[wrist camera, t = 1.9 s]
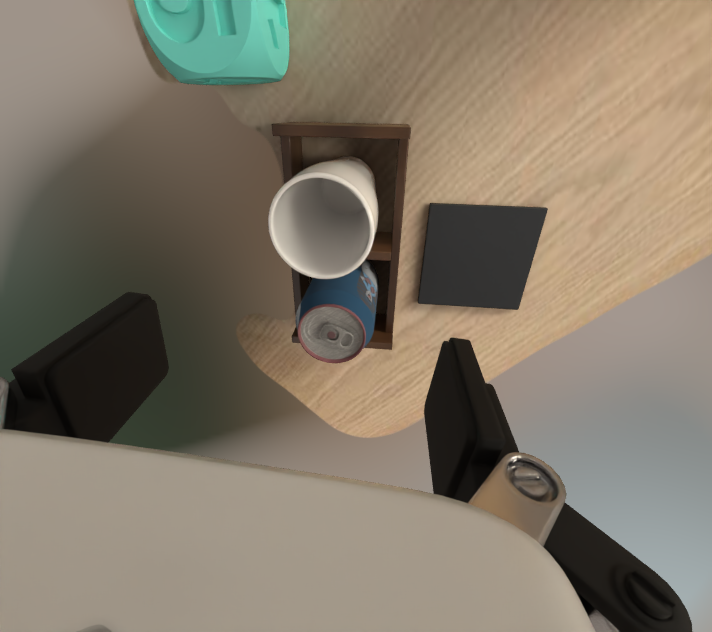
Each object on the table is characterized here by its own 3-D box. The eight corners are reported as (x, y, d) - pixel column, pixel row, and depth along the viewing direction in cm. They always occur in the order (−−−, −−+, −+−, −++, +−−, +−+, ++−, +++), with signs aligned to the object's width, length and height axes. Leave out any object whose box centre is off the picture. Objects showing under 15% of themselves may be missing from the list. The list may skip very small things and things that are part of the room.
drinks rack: (408, 124, 31) (411, 127, 26) (392, 320, 41) (391, 349, 36) (291, 121, 32) (271, 124, 27) (304, 314, 42) (292, 342, 37)
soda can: (310, 290, 40) (280, 351, 30) (330, 236, 37) (304, 285, 27) (364, 312, 41) (354, 379, 31) (389, 262, 38) (387, 319, 27)
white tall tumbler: (370, 228, 36) (355, 295, 23) (307, 206, 35) (257, 261, 23) (394, 161, 33) (392, 195, 20) (325, 135, 32) (277, 153, 19)
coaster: (546, 207, 33) (548, 208, 33) (516, 307, 39) (518, 309, 38) (429, 202, 34) (430, 204, 34) (417, 301, 40) (418, 303, 39)
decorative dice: (294, 82, 30) (264, 74, 23) (207, 86, 31) (153, 79, 24) (281, -46, 26) (240, -102, 19) (181, -38, 27) (107, -88, 20)
